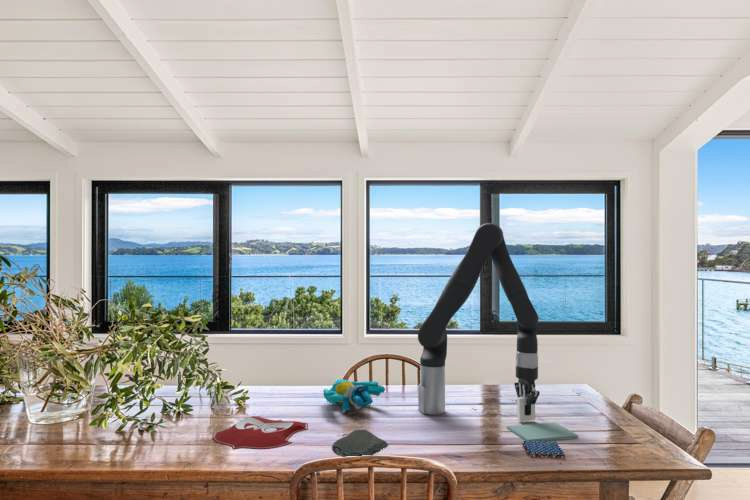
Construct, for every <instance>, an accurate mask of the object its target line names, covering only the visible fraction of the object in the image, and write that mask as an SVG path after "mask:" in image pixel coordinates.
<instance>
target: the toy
mask: <svg viewBox="0 0 750 500" xmlns="http://www.w3.org/2000/svg"><path fill="white" fill-rule="evenodd" d="M385 391H386V388H385V386H383V385H379V382H376V381H355V380H352V381H350V380H346V379H343V378H341V379H338V380H335V382H334V383H333V384H332V386H331V388H330V389H328V388H324V389H323V391H322V392H323V393H322V394H323V397H324V399H325V400H326V401H327V403H329V404H330V403H331V404H336V405H338V406H339V407H341V410H342V411H341V412H342V414H343V413H346V411H349V410H351V406H350V405H352V406H353V407H354V408H355V409H356V410H360V409H361V408H362V407H363V408H367V409H368V408H369V407H370V405H371V404H372V403H374V401H373V399H372V396H377V397H379V396H380V395H381V394H382V393H383V394H384V393H385ZM371 395H372V396H371Z"/></svg>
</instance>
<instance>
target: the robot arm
mask: <svg viewBox="0 0 750 500" xmlns="http://www.w3.org/2000/svg"><path fill="white" fill-rule="evenodd" d="M489 257H490V259H491V260H492V262H493V265H494V267H495V270H496V273H497V277H498V279H499V283H500V285H501V288H502V290H503V292H504V294H505V297H506V298H507V300H508V301H509V304H510V305H511V307H512V311H513V313H514V316H515V318H516V328H517V330H516V332H517V337H516V354H515V378H516V379H518V380H517V382H514V389H515V392H516V393H515V394H516V396H517V397H524V398H525V400H524V403H525V415H526V416H527V415H531V405H532V404H535V405H536V403H537V400H538V398H539V396H540V393H541V392H540V390H537V389H536V382H535V381H536V380H538V378H539V354H538V353H539V352H538V349H539V348H538V345H539V344H538V342H539V341H538V337H537V335H538V334H537V331H538V328H537V327H538V323H539V314H538V312H537V311H536V309H535V307H534V305H533V304H532V302H531V300H530V297H529V294H528V292H527V289H526V287H525V284H524V283H523V281H522V278H521V277H520V275H519V272H518V270H517V268H516V267H515V265H514V263H513V260H512V258H511V255H510V254H509V250H508V248H507V245H506V240H505V238H504V232H503V230H502V228H501V226H499V225H498V224H497V223H492V222H486V223H483V224H481V225H480V226H478V228H477V229H476V231H475V234H474V236H473V238H472V240H471V242H470V245H469V247H468V249H467V250H466V253H465V255H464V256H463V258H461V260H460V262H459V263H458V265H457V266H456V268H455V269H454V271H453V272H452V273H451V275H450V277H449V279H448V280H447V282H446V283H445V286H444V288H443V290H442V291H441V294H440V295H439V296H438V299H437V301H436V303H435V305H434V308H433V309H432V310H431V312H430V313H429V314H428V316H427V318H426V319H425V321H424V322H423V323H422V325H420V326H419V329H418V332H417V339H418V343H419V344H420V345H421V346H422V347H423V349H422V354H421V356H420V359H419V360H420V361H419V363H420V365H419V366H420V367H419V369H420V371H419V372H420V373H419V375H420V377H419V380H420V381H419V384H417V385H418V387H417V389H418V393H417V395H418V396H417V397H418V401H417V402H418V404H417V405H418V406H417V409H418V411H420V412H421V413H422V415H431V416H432V415H433V416H434V415H436V416H437V415H442V414H444V413H446V360H447V356H448V355H447V353H448V352H447V351H448V332H447V331H448V330H447V326H448V325H449V323H450V321H451V320H452V318H453V317H454V316H455V315H456V313H457V312H458V311H459V310H460V309H461V307H463V305H464V304H465V303H466V301H468V299H469V297H470V295H471V294H472V292H473V291H474V288H475V287H476V284H477V282H478V280H479V278H480V275H481V272H482V269H483V267H484V265H485V263H486V261H487V260H488V258H489ZM528 398H529V399H528ZM527 399H528V401H527Z"/></svg>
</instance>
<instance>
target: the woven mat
mask: <svg viewBox="0 0 750 500" xmlns="http://www.w3.org/2000/svg"><path fill="white" fill-rule="evenodd" d="M521 445H522V448H523V449H524V450H525V453H526V455H527V456H528V458H530V459H531V458H537V459H543V458H544V459H547V458H548V459H557V460H559V458H560V459H562V460H563V459H564V457H565V456H566V455H565V452H564V451H563V449H562V448H561V447H560V445H559V444H558V442H557V441H552V440H549V441H533V442H532V441H525V440H523V441H522V442H521Z"/></svg>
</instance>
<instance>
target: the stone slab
mask: <svg viewBox="0 0 750 500" xmlns="http://www.w3.org/2000/svg"><path fill="white" fill-rule="evenodd" d="M388 446H389V444H388V442H387V441H386V440H384V439H381V438H379V437H378V436H376V435H375V434H373V433H372V432H371V431H368V430H367V429H355V430H353V431H351V432H350V433H349V434H348V435H346V436H343V437H341V438H339V439H336V440H335V441H334V442H333V443H332V446H331V450H332V452H333V453H334V454H336V455H337V456H340V457H344V456H362V455H372V456H373V455H374V454H377V453H379V452H381V451H382V450H384V449H386V448H387V447H388ZM383 448H384V449H383ZM381 449H382V450H381ZM380 450H381V451H380ZM376 452H377V453H376Z"/></svg>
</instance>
